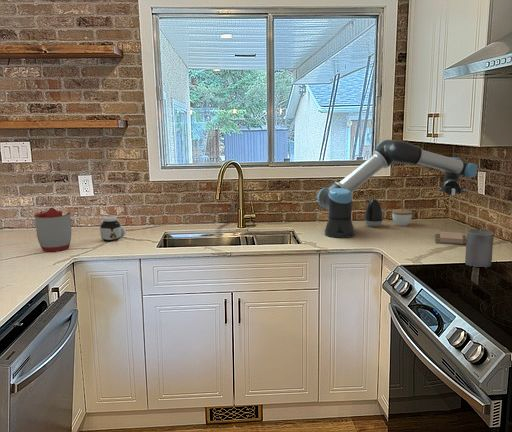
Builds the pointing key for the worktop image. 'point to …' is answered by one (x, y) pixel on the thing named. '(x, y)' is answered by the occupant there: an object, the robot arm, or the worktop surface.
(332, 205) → the robot arm
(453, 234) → the tile
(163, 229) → the worktop surface
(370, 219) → the black rounded cone
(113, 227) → the spread jar
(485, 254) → the pillar candle
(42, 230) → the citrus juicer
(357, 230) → the worktop surface
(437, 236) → the board
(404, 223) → the lidded jar
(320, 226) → the worktop surface
